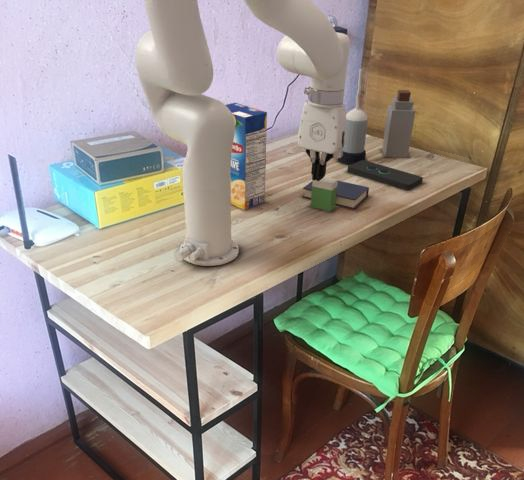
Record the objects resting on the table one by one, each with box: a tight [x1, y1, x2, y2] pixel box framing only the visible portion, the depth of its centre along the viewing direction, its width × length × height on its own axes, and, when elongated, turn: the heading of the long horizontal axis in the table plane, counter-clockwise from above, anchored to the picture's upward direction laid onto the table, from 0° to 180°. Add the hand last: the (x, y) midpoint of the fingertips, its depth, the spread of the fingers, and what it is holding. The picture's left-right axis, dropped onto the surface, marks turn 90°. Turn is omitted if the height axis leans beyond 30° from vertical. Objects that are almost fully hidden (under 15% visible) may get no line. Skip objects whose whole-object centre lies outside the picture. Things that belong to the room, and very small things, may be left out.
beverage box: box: [225, 102, 268, 211], centre depth 142 cm, size 7×11×22 cm, turn 44°
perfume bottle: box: [381, 89, 416, 159], centre depth 175 cm, size 7×7×18 cm
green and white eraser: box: [310, 176, 339, 212], centre depth 144 cm, size 7×5×3 cm
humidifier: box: [337, 68, 369, 166], centre depth 167 cm, size 8×8×25 cm
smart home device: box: [347, 159, 424, 191], centre depth 163 cm, size 8×2×20 cm
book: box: [302, 180, 370, 210], centre depth 151 cm, size 9×14×3 cm, turn 61°
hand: (317, 178), depth 138 cm, fingers closed
